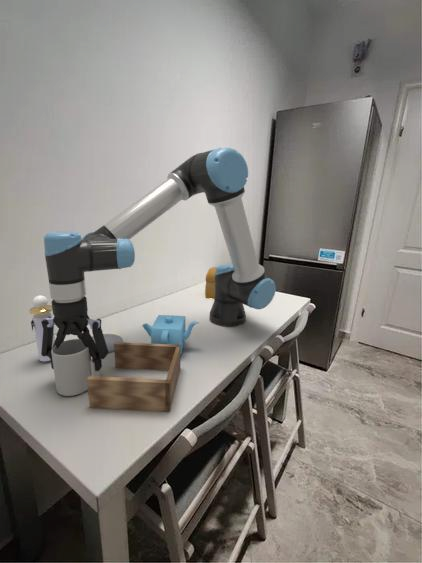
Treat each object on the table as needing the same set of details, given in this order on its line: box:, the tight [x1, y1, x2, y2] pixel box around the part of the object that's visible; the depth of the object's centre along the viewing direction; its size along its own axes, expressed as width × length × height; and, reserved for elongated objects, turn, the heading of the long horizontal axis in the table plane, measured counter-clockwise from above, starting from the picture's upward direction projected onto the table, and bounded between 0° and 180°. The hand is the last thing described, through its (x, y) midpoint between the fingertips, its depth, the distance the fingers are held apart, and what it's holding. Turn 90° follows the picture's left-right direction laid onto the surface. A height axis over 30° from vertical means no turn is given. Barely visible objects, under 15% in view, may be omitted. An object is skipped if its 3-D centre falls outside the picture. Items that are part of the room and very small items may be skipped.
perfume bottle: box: [28, 294, 56, 362], centre depth 80 cm, size 6×6×20 cm
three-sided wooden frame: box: [87, 341, 181, 413], centre depth 71 cm, size 18×17×8 cm
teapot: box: [141, 314, 200, 356], centre depth 89 cm, size 16×18×11 cm
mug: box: [51, 338, 92, 397], centre depth 71 cm, size 12×8×11 cm
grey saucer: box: [91, 333, 124, 354], centre depth 91 cm, size 13×13×1 cm
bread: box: [204, 266, 218, 300], centre depth 143 cm, size 24×13×15 cm, turn 81°
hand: (78, 379), depth 72 cm, fingers closed on mug, 9 cm apart
